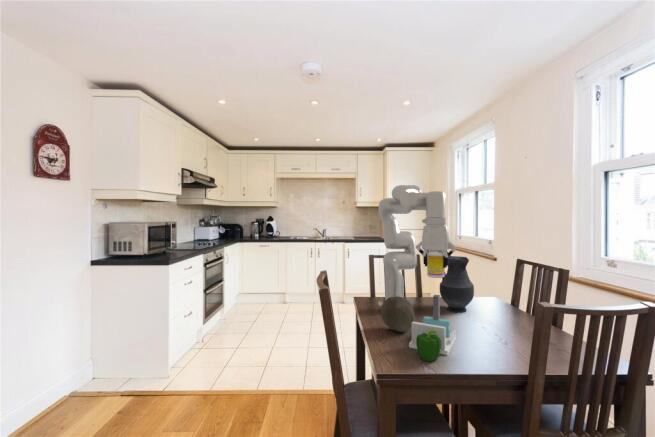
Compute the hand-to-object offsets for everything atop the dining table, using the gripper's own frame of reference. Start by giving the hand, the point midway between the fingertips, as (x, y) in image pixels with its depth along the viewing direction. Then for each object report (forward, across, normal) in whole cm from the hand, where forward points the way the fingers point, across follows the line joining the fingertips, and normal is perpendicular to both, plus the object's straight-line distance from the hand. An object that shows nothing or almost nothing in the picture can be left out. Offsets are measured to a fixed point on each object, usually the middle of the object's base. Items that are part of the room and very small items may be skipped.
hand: (435, 266), depth 130 cm
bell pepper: (+30, +1, -18) cm, 35 cm away
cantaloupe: (+30, -17, +3) cm, 35 cm away
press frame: (+30, -1, -2) cm, 30 cm away
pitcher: (+30, 0, +51) cm, 59 cm away
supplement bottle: (+4, 0, 0) cm, 4 cm away
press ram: (+28, 0, +4) cm, 28 cm away
